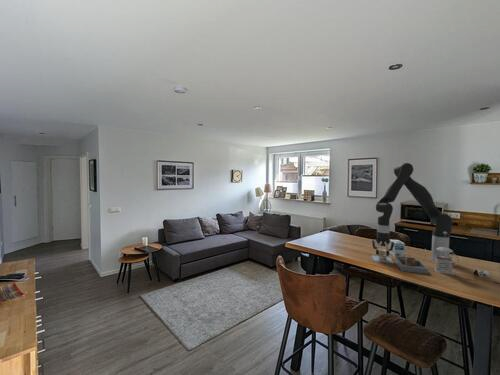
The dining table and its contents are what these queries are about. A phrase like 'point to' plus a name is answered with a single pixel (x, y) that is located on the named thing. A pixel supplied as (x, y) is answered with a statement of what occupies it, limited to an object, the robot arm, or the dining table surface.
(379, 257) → the beige box with label
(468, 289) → the dining table surface
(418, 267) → the parts bin
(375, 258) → the placing board
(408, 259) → the walnut block
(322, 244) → the dining table surface
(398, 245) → the light bulb box
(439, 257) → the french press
